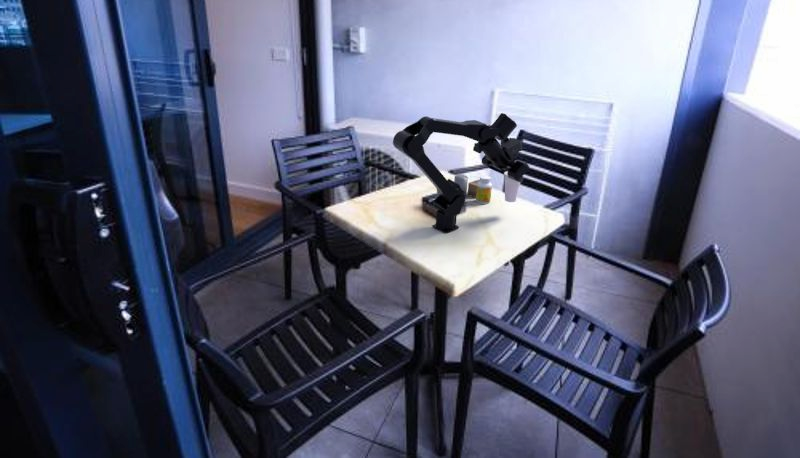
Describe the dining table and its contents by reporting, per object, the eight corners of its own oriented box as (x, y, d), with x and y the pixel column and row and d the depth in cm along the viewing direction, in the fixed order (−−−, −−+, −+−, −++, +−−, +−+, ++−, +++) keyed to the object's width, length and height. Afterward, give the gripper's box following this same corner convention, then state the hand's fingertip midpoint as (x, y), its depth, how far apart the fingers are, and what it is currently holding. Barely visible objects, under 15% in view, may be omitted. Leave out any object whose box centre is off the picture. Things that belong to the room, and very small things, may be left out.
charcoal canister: (460, 200, 179) (461, 180, 175) (450, 196, 182) (451, 176, 179) (468, 197, 182) (470, 177, 178) (459, 193, 185) (460, 173, 182)
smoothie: (521, 203, 161) (526, 164, 156) (502, 203, 161) (507, 163, 156) (517, 197, 167) (522, 158, 161) (499, 196, 167) (503, 158, 162)
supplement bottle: (474, 203, 176) (476, 178, 172) (477, 198, 181) (479, 174, 177) (488, 205, 175) (491, 180, 171) (491, 200, 179) (494, 175, 175)
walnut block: (477, 198, 181) (478, 186, 179) (467, 194, 184) (468, 182, 182) (487, 195, 184) (488, 183, 182) (477, 191, 188) (478, 179, 186)
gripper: (529, 138, 145) (550, 168, 154) (492, 125, 160) (513, 153, 169) (505, 165, 145) (528, 194, 154) (470, 150, 160) (493, 177, 169)
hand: (515, 178), depth 162 cm, fingers closed on smoothie, 6 cm apart
